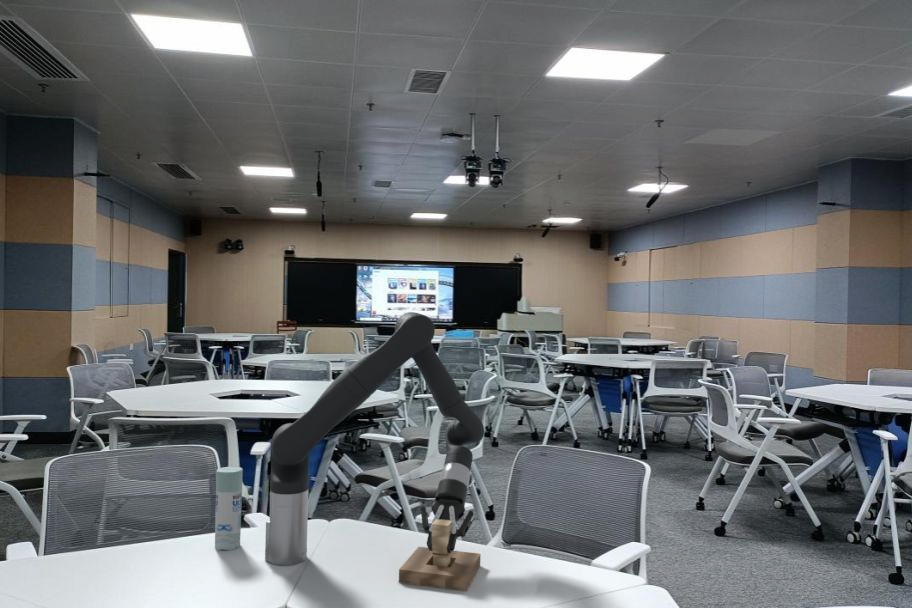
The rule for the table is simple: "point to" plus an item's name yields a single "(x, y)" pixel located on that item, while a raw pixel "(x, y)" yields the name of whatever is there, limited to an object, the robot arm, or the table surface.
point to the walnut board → (440, 570)
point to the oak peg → (441, 542)
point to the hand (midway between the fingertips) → (439, 550)
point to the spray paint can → (228, 508)
